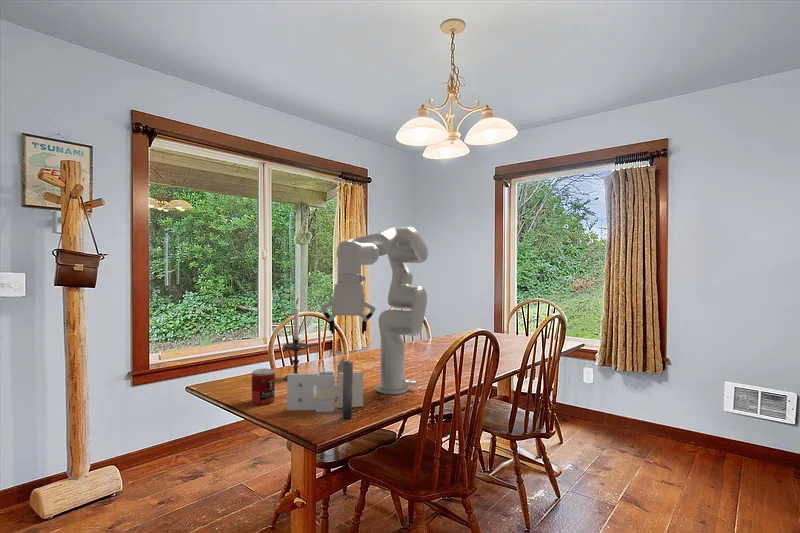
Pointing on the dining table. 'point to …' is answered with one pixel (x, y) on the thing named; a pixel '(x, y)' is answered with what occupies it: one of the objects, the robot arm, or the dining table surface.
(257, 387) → the canned food
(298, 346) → the candlestick
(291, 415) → the dining table surface
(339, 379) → the leaf
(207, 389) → the dining table surface
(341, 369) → the laptop
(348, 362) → the pin
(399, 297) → the robot arm
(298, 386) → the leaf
